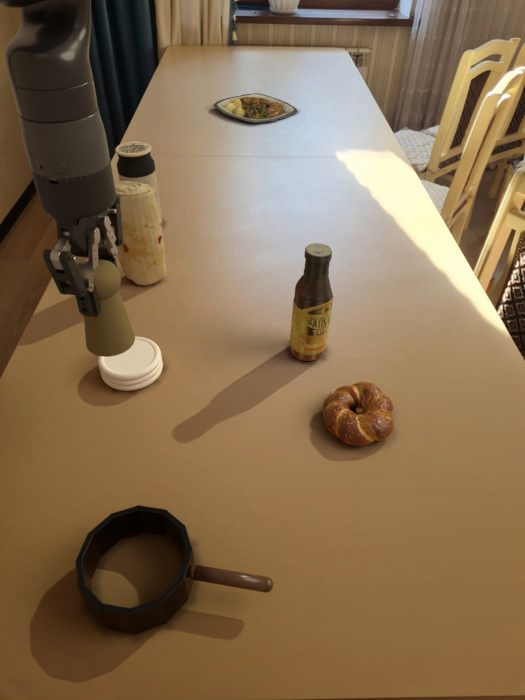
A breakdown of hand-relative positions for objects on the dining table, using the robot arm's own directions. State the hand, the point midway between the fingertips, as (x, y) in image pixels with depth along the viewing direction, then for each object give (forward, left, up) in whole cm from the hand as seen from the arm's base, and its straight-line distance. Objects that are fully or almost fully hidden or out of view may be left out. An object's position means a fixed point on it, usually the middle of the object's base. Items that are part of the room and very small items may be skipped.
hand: (101, 299), depth 64 cm
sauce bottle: (+24, +22, -24) cm, 40 cm away
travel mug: (-18, +59, -24) cm, 67 cm away
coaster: (-4, +12, -24) cm, 27 cm away
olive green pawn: (0, 0, -7) cm, 7 cm away
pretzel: (+33, +8, -24) cm, 41 cm away
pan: (+13, -21, -24) cm, 34 cm away
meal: (-7, +142, -24) cm, 144 cm away
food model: (-11, +38, -24) cm, 47 cm away
